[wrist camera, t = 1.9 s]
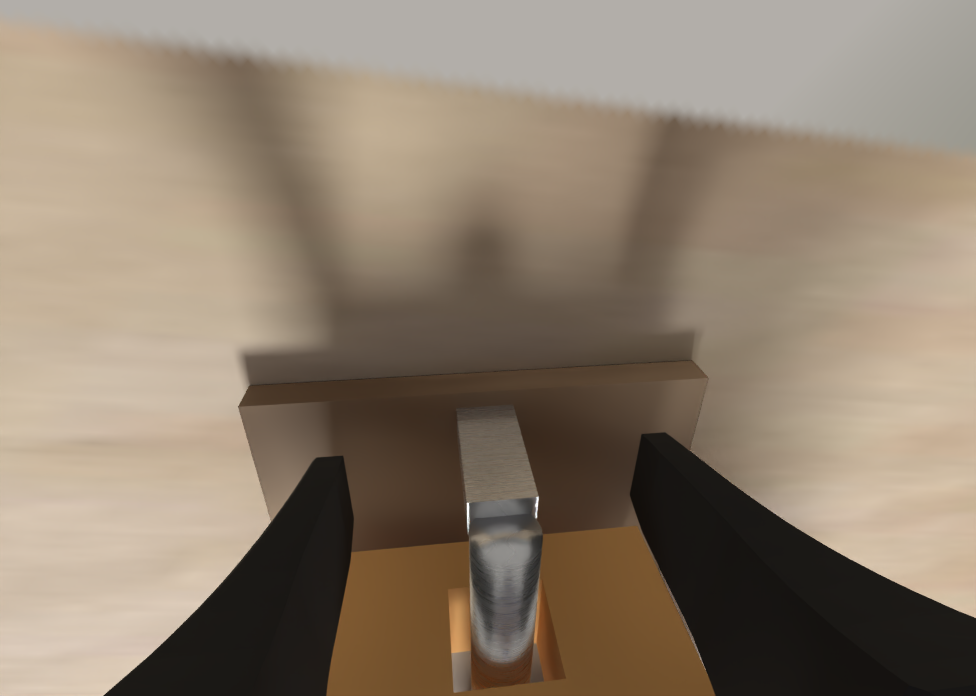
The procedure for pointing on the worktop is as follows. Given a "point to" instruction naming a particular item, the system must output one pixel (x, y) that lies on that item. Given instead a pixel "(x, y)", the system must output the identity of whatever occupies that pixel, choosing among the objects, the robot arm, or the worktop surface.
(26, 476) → the worktop surface
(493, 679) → the metal rod
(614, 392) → the walnut board
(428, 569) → the collar
